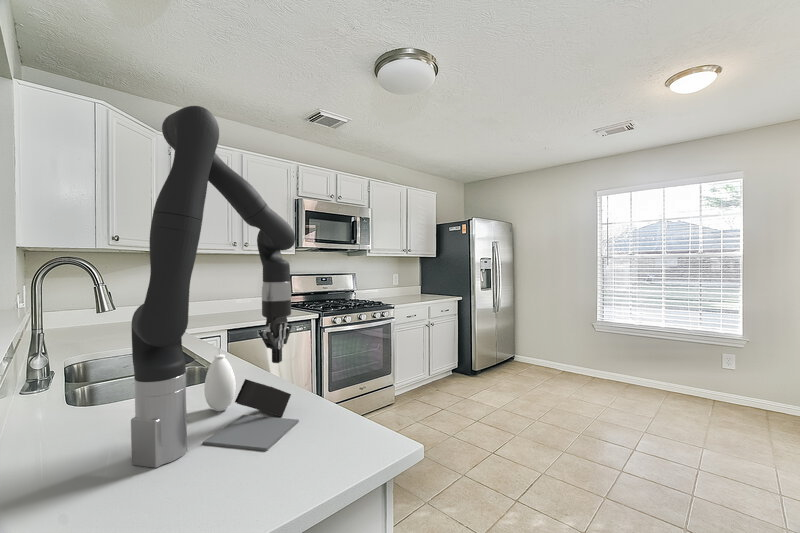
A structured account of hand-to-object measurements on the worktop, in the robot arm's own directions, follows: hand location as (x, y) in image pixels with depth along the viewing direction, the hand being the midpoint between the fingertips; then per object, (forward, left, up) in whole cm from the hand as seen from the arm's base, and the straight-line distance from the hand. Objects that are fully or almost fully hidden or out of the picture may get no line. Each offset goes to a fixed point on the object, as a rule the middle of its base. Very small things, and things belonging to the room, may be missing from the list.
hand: (277, 362), depth 102 cm
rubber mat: (-11, 0, -14) cm, 18 cm away
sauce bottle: (-1, +17, -14) cm, 22 cm away
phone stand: (+2, +1, -12) cm, 12 cm away
